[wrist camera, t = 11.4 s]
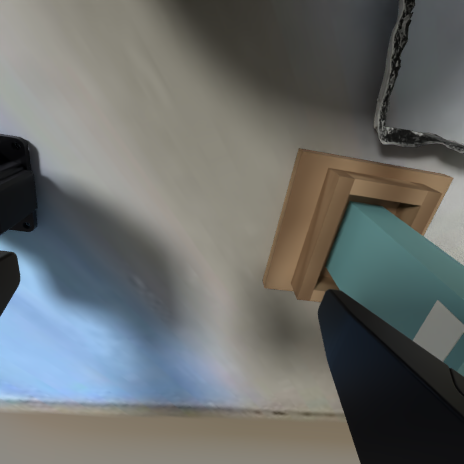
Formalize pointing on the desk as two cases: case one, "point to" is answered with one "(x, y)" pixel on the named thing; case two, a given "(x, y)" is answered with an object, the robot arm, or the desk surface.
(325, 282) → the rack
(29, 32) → the desk surface
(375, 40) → the desk surface
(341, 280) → the teal labeled box
